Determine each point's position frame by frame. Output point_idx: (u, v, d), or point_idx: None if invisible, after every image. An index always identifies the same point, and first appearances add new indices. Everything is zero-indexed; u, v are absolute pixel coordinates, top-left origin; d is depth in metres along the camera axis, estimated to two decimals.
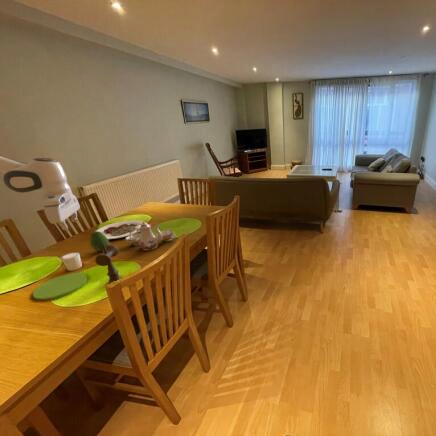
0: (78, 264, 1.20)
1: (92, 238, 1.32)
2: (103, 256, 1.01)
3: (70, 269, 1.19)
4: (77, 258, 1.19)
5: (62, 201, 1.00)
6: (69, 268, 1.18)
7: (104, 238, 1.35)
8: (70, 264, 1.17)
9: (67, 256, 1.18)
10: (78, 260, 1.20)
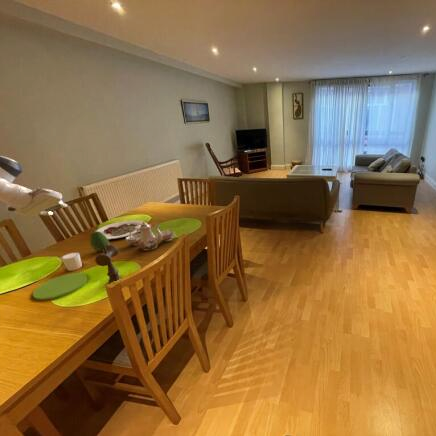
0: (78, 264, 1.20)
1: (92, 238, 1.32)
2: (103, 256, 1.01)
3: (70, 269, 1.19)
4: (77, 258, 1.19)
5: (12, 210, 1.04)
6: (69, 268, 1.18)
7: (104, 238, 1.35)
8: (70, 264, 1.17)
9: (67, 256, 1.18)
10: (78, 260, 1.20)
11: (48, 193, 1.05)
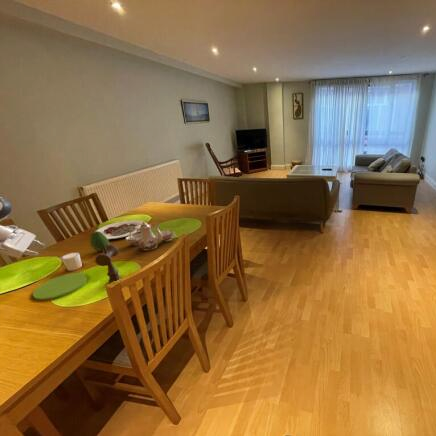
0: (78, 264, 1.20)
1: (92, 238, 1.32)
2: (103, 256, 1.01)
3: (70, 269, 1.19)
4: (77, 258, 1.19)
5: None
6: (69, 268, 1.18)
7: (104, 238, 1.35)
8: (70, 264, 1.17)
9: (67, 256, 1.18)
10: (78, 260, 1.20)
11: (3, 251, 0.99)
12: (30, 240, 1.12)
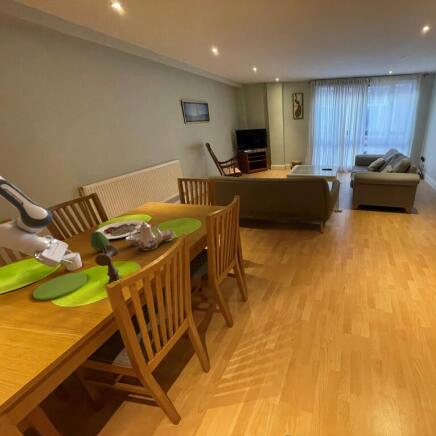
0: (78, 264, 1.20)
1: (92, 238, 1.32)
2: (103, 256, 1.01)
3: (70, 269, 1.19)
4: (77, 258, 1.19)
5: None
6: (69, 268, 1.18)
7: (104, 238, 1.35)
8: None
9: (67, 256, 1.18)
10: (78, 260, 1.20)
11: (42, 261, 1.06)
12: (64, 250, 1.19)
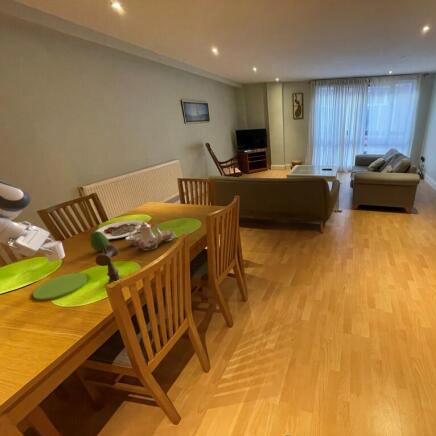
0: (60, 254, 1.06)
1: (92, 238, 1.32)
2: (103, 256, 1.01)
3: (51, 260, 1.04)
4: (58, 247, 1.05)
5: None
6: (50, 258, 1.04)
7: (104, 238, 1.35)
8: (51, 254, 1.03)
9: (47, 245, 1.04)
10: (60, 249, 1.06)
11: (16, 249, 0.92)
12: (44, 238, 1.05)
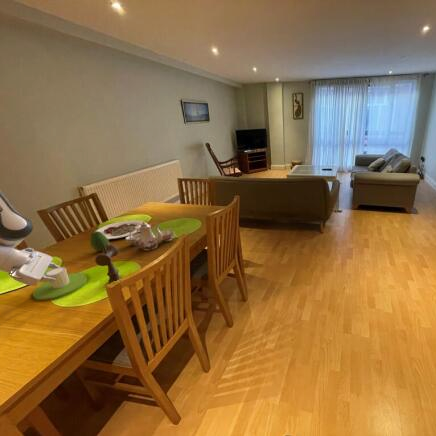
0: (65, 281, 1.06)
1: (92, 238, 1.32)
2: (103, 256, 1.01)
3: (55, 287, 1.04)
4: (63, 274, 1.05)
5: None
6: (54, 286, 1.04)
7: (104, 238, 1.35)
8: (55, 281, 1.03)
9: (52, 272, 1.04)
10: (65, 276, 1.06)
11: (19, 279, 0.92)
12: (47, 264, 1.04)
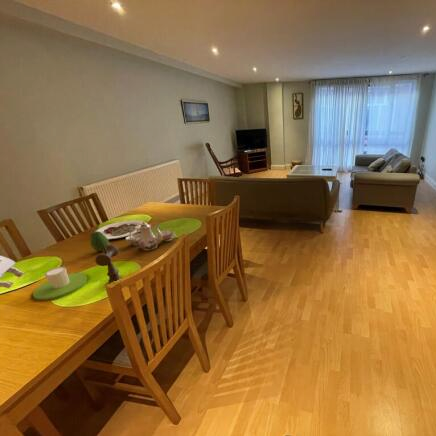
0: (65, 281, 1.06)
1: (92, 238, 1.32)
2: (103, 256, 1.01)
3: (55, 287, 1.04)
4: (63, 274, 1.05)
5: None
6: (54, 286, 1.04)
7: (104, 238, 1.35)
8: (55, 281, 1.03)
9: (52, 272, 1.04)
10: (65, 276, 1.06)
11: None
12: (5, 268, 0.96)
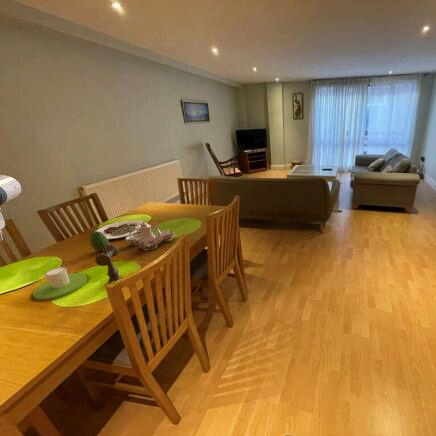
0: (65, 281, 1.06)
1: (92, 238, 1.32)
2: (103, 256, 1.01)
3: (55, 287, 1.04)
4: (63, 274, 1.05)
5: None
6: (54, 286, 1.04)
7: (104, 238, 1.35)
8: (55, 281, 1.03)
9: (52, 272, 1.04)
10: (65, 276, 1.06)
11: None
12: None
